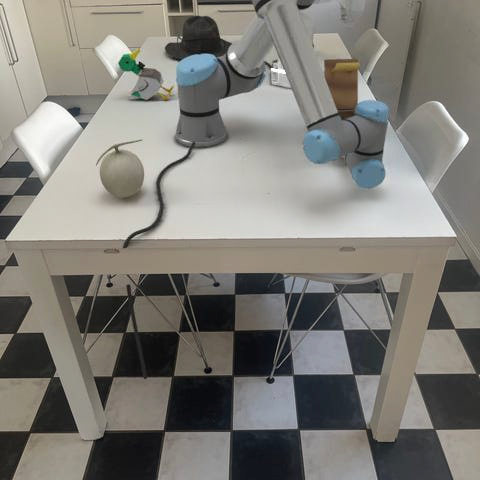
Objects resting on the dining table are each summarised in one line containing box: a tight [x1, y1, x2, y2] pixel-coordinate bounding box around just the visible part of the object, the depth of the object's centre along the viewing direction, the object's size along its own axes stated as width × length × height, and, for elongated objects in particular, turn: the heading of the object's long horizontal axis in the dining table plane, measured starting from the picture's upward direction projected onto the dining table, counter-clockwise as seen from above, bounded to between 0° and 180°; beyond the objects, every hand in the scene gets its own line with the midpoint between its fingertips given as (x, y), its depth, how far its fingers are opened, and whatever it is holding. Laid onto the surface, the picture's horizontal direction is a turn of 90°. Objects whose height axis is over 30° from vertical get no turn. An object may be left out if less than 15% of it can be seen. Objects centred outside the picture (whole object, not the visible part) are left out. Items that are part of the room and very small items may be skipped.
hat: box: [164, 15, 233, 60], centre depth 230 cm, size 32×35×14 cm
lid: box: [323, 58, 361, 110], centre depth 141 cm, size 14×9×9 cm
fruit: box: [95, 139, 145, 199], centre depth 124 cm, size 10×12×15 cm
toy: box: [117, 47, 175, 101], centre depth 181 cm, size 6×17×20 cm
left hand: (337, 116), depth 151 cm, fingers closed on chest, 9 cm apart
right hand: (346, 25), depth 136 cm, fingers open, 5 cm apart
